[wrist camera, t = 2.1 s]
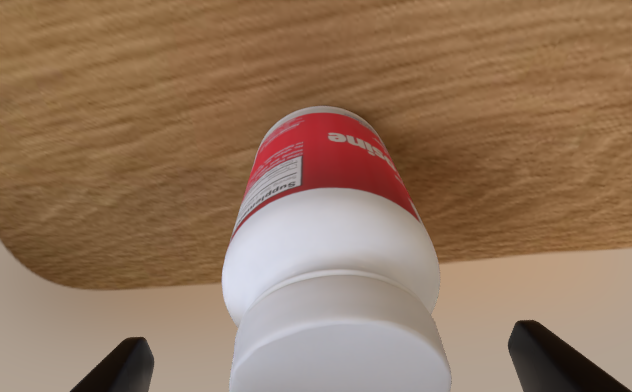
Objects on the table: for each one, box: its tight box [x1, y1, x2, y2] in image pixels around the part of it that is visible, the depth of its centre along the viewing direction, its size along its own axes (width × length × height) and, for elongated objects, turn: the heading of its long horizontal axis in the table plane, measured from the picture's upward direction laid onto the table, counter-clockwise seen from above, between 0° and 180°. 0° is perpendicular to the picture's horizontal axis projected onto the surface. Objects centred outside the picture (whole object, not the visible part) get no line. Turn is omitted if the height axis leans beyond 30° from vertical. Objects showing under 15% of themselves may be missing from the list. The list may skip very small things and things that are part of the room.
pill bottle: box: [222, 106, 452, 392], centre depth 12 cm, size 6×6×11 cm
